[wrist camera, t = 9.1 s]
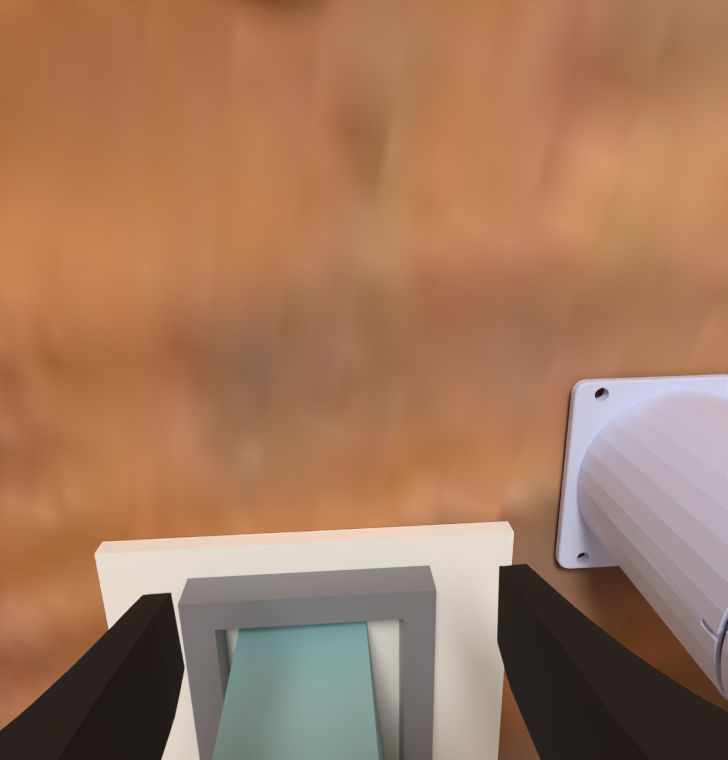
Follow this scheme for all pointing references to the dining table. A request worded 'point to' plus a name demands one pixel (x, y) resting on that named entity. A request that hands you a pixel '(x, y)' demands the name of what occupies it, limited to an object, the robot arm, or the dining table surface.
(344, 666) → the teal block
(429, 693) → the socket board
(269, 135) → the dining table surface
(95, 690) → the robot arm
